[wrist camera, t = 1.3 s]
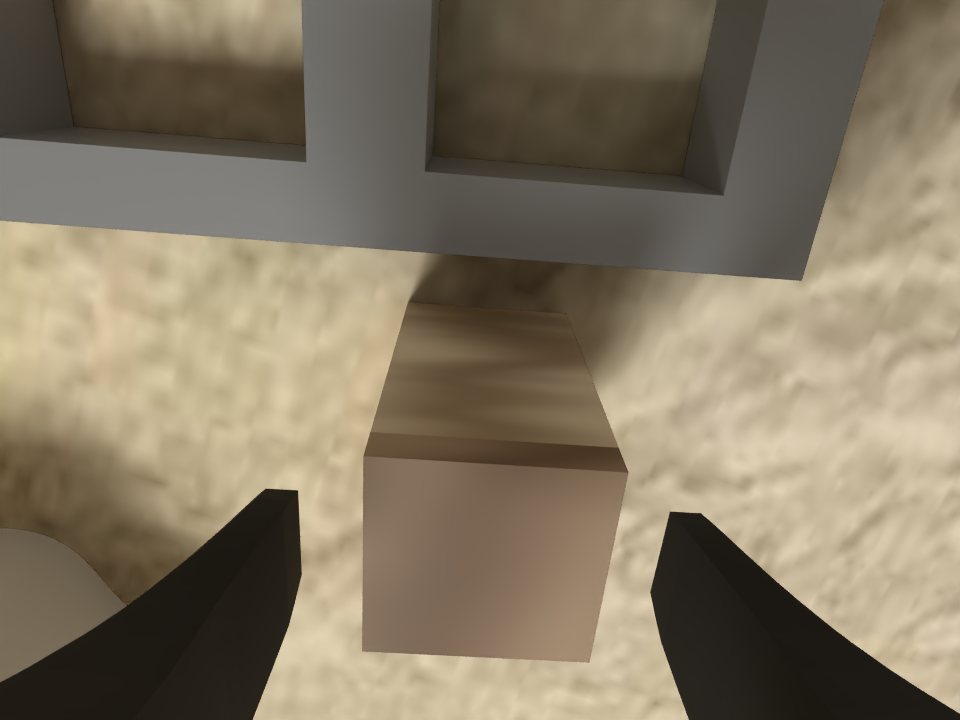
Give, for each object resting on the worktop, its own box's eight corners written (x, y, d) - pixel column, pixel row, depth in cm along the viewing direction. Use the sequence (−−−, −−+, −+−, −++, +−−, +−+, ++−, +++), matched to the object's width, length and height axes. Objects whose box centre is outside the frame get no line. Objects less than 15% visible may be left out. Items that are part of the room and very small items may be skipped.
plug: (566, 313, 18) (628, 472, 11) (547, 448, 20) (589, 662, 13) (408, 302, 18) (363, 455, 11) (403, 439, 20) (362, 651, 13)
